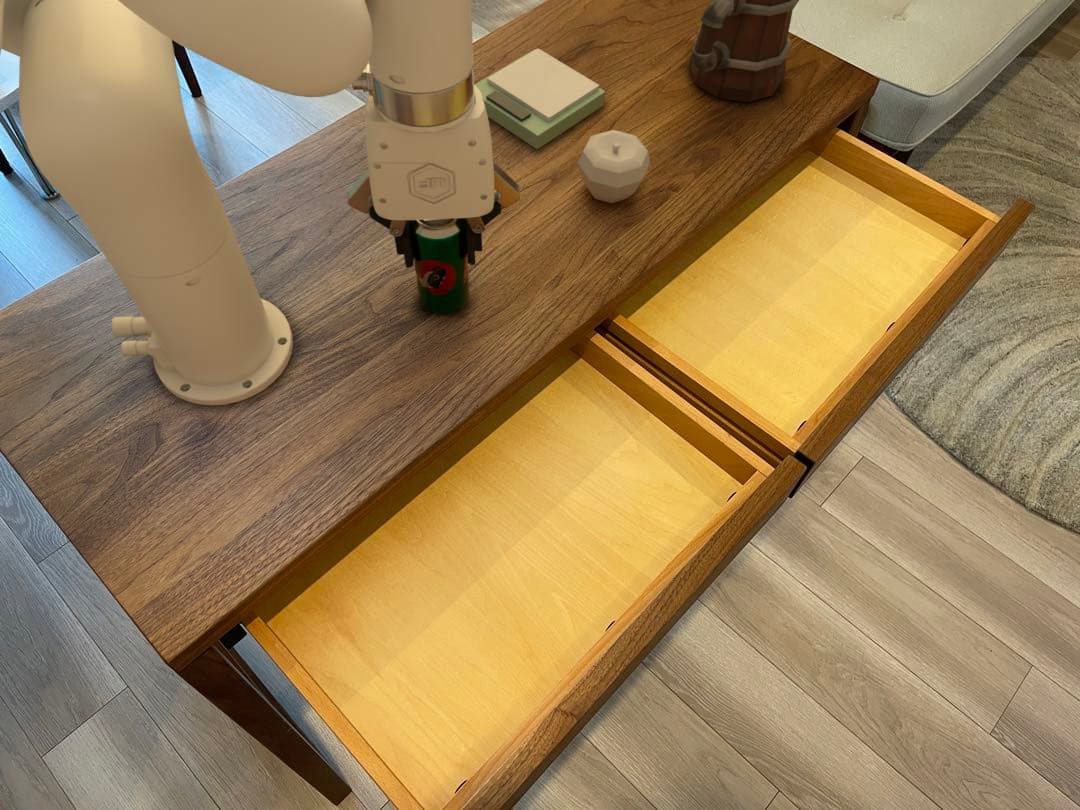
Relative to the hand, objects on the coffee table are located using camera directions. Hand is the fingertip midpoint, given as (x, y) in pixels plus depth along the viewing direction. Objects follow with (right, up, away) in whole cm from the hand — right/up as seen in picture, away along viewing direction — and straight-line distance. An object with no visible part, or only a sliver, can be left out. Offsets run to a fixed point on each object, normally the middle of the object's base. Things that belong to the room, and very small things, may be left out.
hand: (440, 253), depth 73 cm
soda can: (0, -4, +6) cm, 7 cm away
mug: (+33, +27, +27) cm, 51 cm away
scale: (+9, +23, +23) cm, 34 cm away
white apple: (+17, +10, +15) cm, 25 cm away
